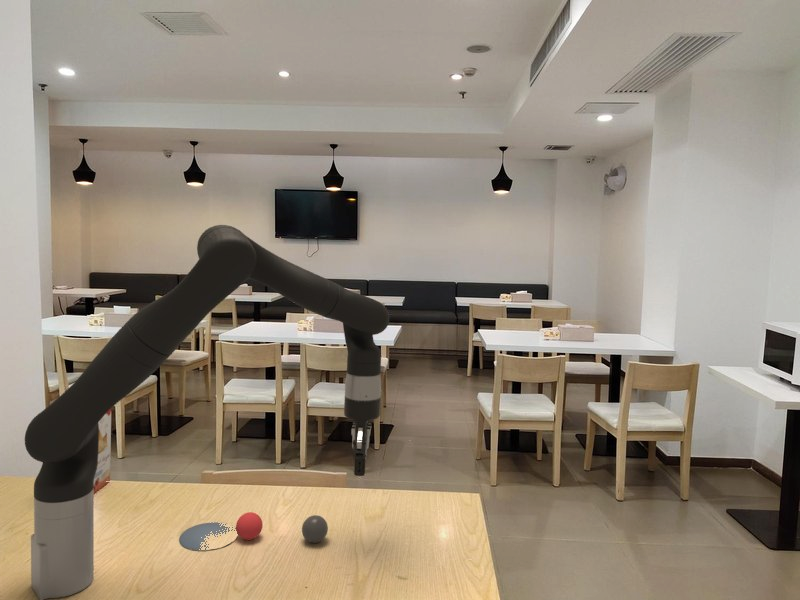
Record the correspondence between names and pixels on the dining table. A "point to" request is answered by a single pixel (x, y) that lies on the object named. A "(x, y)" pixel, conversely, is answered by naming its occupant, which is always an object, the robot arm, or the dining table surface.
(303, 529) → the gray ball
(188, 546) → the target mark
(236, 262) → the robot arm
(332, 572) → the dining table surface
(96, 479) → the cracker box
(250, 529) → the red ball
